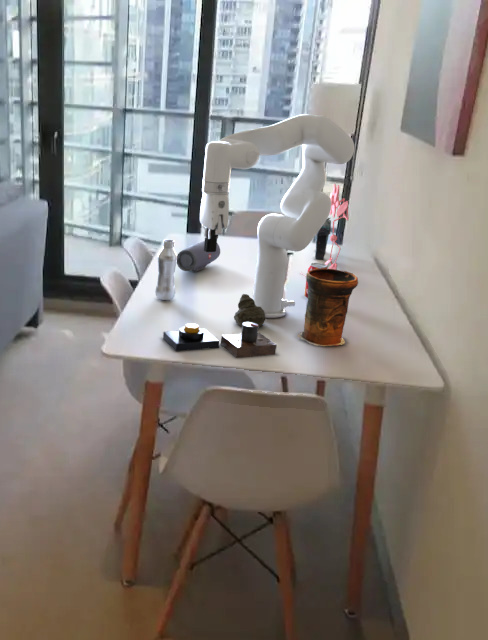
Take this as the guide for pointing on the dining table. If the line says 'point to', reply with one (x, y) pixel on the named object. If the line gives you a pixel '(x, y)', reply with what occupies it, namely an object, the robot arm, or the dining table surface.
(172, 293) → the plastic bottle
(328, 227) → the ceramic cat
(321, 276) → the vessel
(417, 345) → the dining table surface
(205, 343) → the button box
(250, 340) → the dial
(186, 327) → the button
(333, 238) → the figurine
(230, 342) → the dial panel
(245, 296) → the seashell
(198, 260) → the bluetooth speaker
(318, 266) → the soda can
